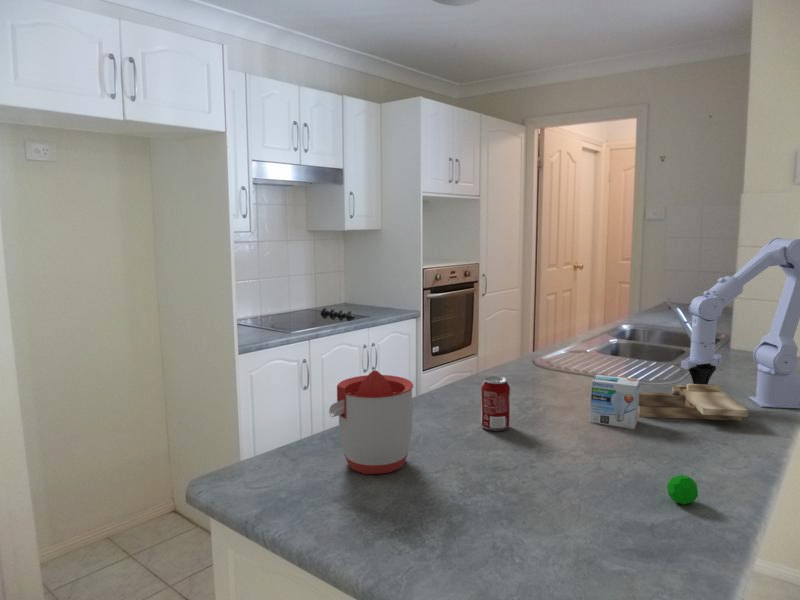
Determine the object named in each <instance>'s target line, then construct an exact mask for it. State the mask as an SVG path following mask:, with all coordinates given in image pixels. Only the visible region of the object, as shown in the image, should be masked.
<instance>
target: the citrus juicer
mask: <svg viewBox="0 0 800 600" xmlns="http://www.w3.org/2000/svg"><path fill="white" fill-rule="evenodd" d="M413 388H414V384H413V382H412V381H411V380H410V379H407V378H406V377H405V378H404V377H400V376H397V375H390V374H389V375H386V374H381V372H379V371H378V370H372V371H371V372H370V373H369V374H367V375H366V374H365V375H360V376H354V377H349V378H346V379H344V380H342V381H340V382H338V384H337V385H336V402H334V403H332V404H331V405H330V407H329V410H328V414H329V417H331V418H334V417H335V418H336V417H338V430H339V431H338V432H339V439H340V444H341V447H342V451H343V452H344V455H343V456H344V457H345V460H346V462H347V464H348V466H349V467H350V469H352V470H353V471H356V472H358V473H361V474H363V475H370V474H371V475H375V474H376V475H380V474H381V475H382V474H387V473H392V472H395V471H396V470H397V471H398V470H399V469H400V468H402V466H403V465H404V464H405V461H406V459H407V457H408V454H409V449H410V446H411V440H412V435H413Z"/></svg>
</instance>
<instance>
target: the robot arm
mask: <svg viewBox="0 0 800 600" xmlns="http://www.w3.org/2000/svg"><path fill="white" fill-rule="evenodd" d="M774 266H775V267H776V266H778V267H780V269H781V270H782V271H783V272H784V273H785V275H786V279H785V282H784V285H783V288H782V292H781V294H780V297H779V302H778V305H777V307H776V311H775V314H774V317H773V320H772V323H771V326H770V330H769V332H768V333H766V334H765V335H764V336H762V337H761V339H760V342H759V344H757V346H756V347H755V349H754V351H753V353H752V357H753V360H754V362H755V363H756V364H757V366H756V367H757V375H756V376H757V377H756V390H755V396H753V395H751V396H749V399H750V400H751V401H753V402H754V403H755V404H757V405H758V406H760V407H762V408H776V409H777V408H780V409H781V408H782V409H783V408H784V409H800V375H799V373H797V372H795V371H794V370H795V369H796V367H797V365H798V355H797V353H798V351H799V347H798V345H797V343H796V342H795V340H794V337H795V335H796V331H797V330H798V326H799V322H800V238H783V237H775V238H772V239H770V240H769V241H768V242H767V244H764V245H763V246H762V247H761V248H760V250H759V252H758V253H757V254H755V255H754V256H753V257H752V258H751V259H750V260H749V261H748V262H746V264H745V265H743V267H741V268H740V269H739V270H738V271H736V273H735V274H733V276H731V275H730V276H729V275H728V276H727V275H726V276H724V277H720V278H718V279H717V283H716V284H714V285H713V286H712V287H711V288H709V289H708V290H705V291H703V292H702V293H703V295H700V296H699V295H698V296H696V297H694V298H693V299H692V300H691V303H690V305H688V307H687V309H688V312H689V313H690V314H691V319H692V320H691V331H690V332H691V335H690V349H689V350H690V352H689V356H688V357H687V358H685V359H684V360H681V362H680V368H681V369H684V370H687V371H688V372H689V374H690V377H691V380H692V384H709V382H710V380H711V378H712V376H713V374H714V372H715V371H716V370H717V367H716V365H715V364H718V363H722V359H723V357H722V356H723V355H721V354H718V353H715V351H716V337H717V336H716V335H717V320H718V318H720V317H721V316H722V314H723V312H724V311H723V310H724V308H725V307H726V306H728V305H729V304H730V303H731V302H733V301H734V300H735V299H737V297H738V296H740V295H741V294H742V293H743V291H744V286H745V285H746V284H748V283H749V282H750V281H751V280H753V279H754V278H756V277H757V276H758V275H760V274H761V273H762V272H764V271H765V270H766V269H768V268H769V267H774Z"/></svg>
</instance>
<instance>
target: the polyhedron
mask: <svg viewBox="0 0 800 600" xmlns="http://www.w3.org/2000/svg"><path fill="white" fill-rule="evenodd" d="M666 484H667V487H666V488H667V492H668V496H669V497H670V499H671V500H672V501H674V502H675V503H678V504H681V505H686V504H690V503H692V502H696V500H697V498H698V496H699V491H698V485H697V483H696V482H695V481H694V479H693V478H691V477H690V476H688V475H685V474H679V475H676V476H674V477H671V478H670V479H669V480H668V482H667V483H666Z"/></svg>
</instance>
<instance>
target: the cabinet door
mask: <svg viewBox="0 0 800 600" xmlns="http://www.w3.org/2000/svg"><path fill="white" fill-rule="evenodd" d="M685 401H686V396H685V395H684V394H680V391H673V393H672V392H647V391H646V392H645V391H639V406H657V407H682V408H685Z"/></svg>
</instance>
